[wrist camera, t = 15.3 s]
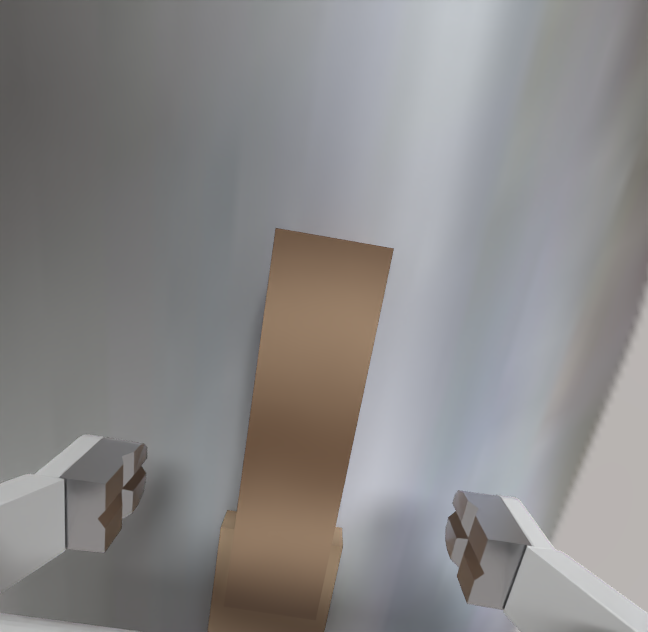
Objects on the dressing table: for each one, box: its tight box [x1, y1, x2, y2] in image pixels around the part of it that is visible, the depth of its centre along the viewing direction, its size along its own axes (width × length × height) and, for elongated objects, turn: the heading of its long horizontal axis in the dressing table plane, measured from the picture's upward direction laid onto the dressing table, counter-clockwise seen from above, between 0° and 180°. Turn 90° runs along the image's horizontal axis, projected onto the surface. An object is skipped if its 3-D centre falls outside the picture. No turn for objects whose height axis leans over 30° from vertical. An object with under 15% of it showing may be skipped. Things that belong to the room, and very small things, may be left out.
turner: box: [207, 228, 394, 632], centre depth 13 cm, size 19×5×4 cm, turn 170°
